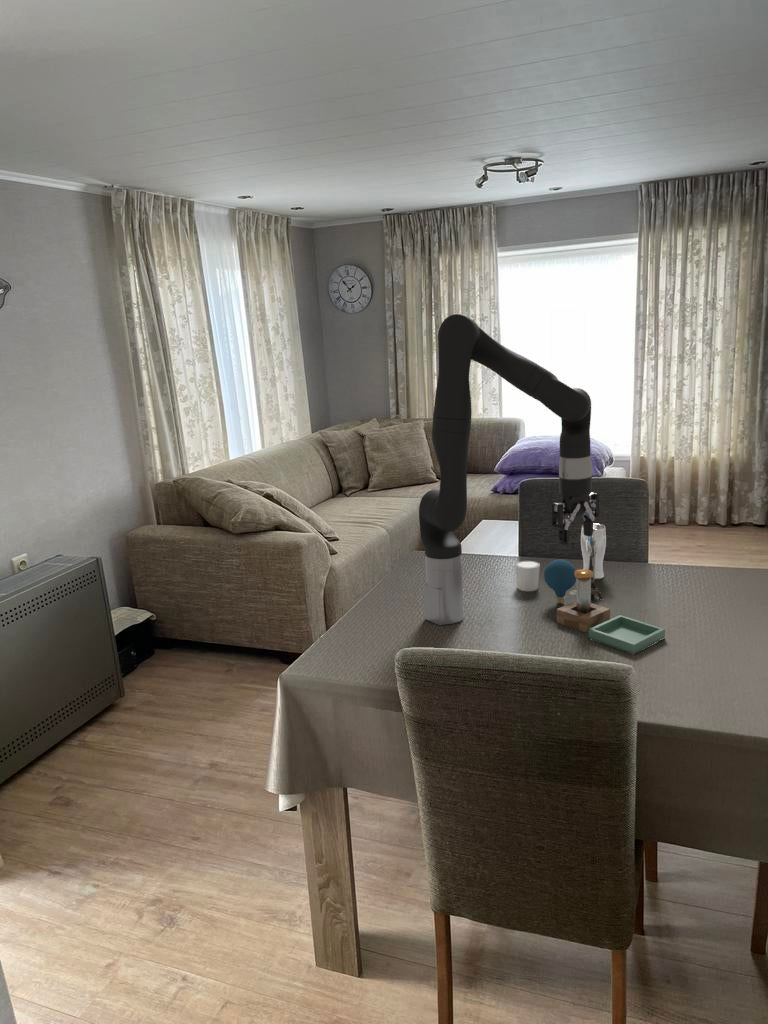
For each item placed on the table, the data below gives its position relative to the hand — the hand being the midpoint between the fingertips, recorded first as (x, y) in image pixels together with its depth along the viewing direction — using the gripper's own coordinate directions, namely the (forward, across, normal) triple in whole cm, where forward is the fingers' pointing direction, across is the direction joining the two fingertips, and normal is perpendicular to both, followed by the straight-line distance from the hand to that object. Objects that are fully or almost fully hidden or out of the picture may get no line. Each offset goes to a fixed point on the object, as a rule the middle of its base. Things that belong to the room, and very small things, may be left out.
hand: (576, 539), depth 175 cm
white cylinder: (+21, +7, +24) cm, 33 cm away
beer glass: (+22, +27, +18) cm, 39 cm away
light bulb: (+21, +5, +10) cm, 24 cm away
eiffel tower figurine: (+22, +14, +7) cm, 27 cm away
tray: (+21, -1, -16) cm, 26 cm away
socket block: (+21, -1, -2) cm, 21 cm away
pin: (+21, -1, -2) cm, 21 cm away
